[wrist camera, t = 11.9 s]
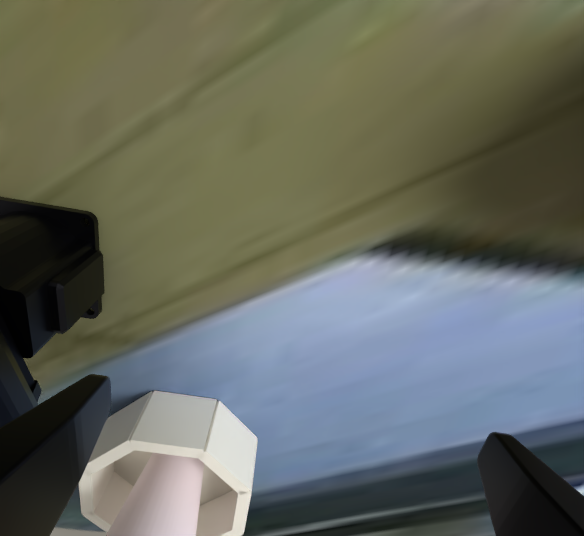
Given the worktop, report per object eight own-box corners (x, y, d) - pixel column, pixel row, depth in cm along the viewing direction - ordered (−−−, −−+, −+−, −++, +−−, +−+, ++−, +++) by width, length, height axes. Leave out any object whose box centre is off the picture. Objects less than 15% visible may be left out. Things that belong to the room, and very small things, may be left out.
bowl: (110, 488, 30) (84, 543, 26) (105, 383, 25) (73, 432, 22) (245, 505, 30) (238, 561, 27) (264, 405, 26) (258, 456, 22)
